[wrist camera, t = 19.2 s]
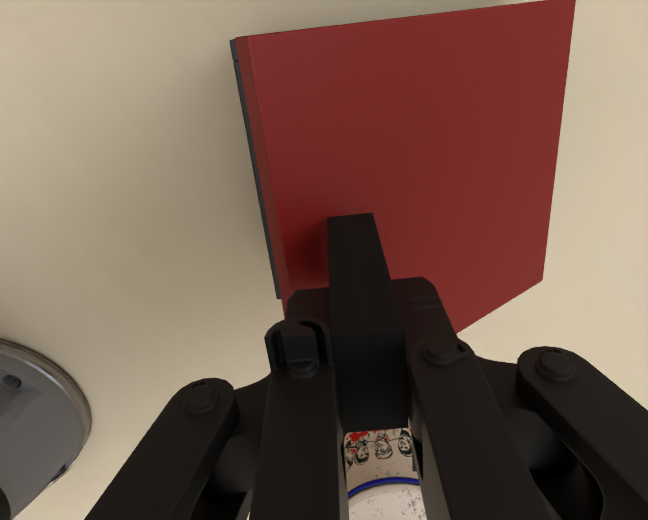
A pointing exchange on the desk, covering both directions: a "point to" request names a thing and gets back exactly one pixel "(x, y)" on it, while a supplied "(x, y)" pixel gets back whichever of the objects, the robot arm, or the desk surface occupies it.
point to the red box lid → (415, 144)
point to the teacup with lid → (382, 476)
